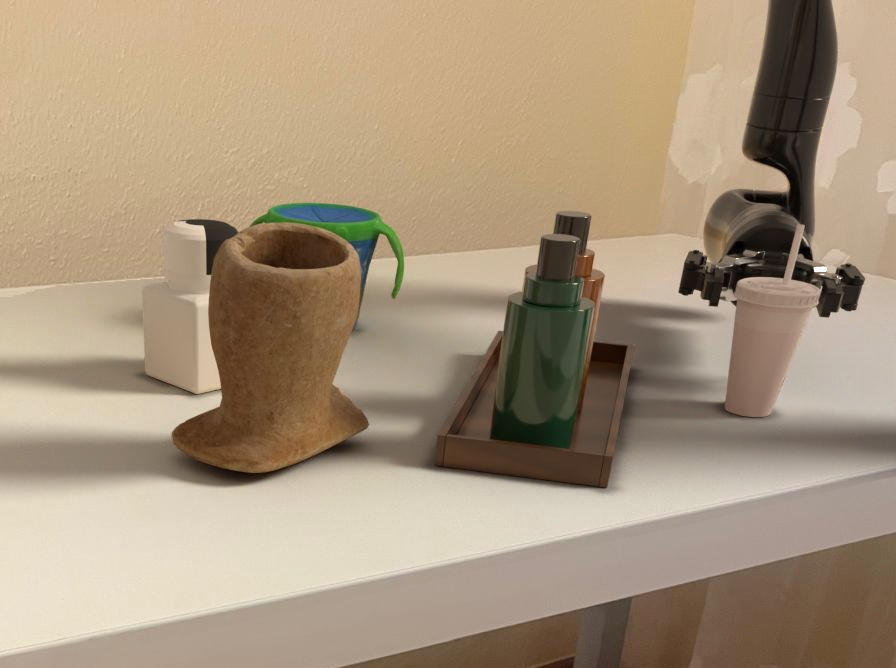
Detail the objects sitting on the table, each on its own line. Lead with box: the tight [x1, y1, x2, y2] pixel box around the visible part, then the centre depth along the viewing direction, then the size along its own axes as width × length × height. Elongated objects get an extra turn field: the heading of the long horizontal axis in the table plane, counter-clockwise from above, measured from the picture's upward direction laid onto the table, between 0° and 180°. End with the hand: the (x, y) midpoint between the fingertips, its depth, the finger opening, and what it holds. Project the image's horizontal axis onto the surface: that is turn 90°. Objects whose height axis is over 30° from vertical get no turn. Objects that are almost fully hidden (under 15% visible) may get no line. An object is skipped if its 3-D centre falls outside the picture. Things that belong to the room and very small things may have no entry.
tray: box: [434, 330, 635, 489], centre depth 96 cm, size 31×12×2 cm, turn 164°
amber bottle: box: [521, 210, 606, 413], centre depth 92 cm, size 6×6×14 cm
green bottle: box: [489, 233, 595, 449], centre depth 84 cm, size 6×6×14 cm
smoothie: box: [724, 224, 822, 418], centre depth 95 cm, size 6×6×14 cm
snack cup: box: [248, 202, 405, 329], centre depth 113 cm, size 16×10×10 cm
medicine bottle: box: [141, 218, 240, 395], centre depth 97 cm, size 7×7×12 cm
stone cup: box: [171, 222, 370, 474], centre depth 82 cm, size 15×12×15 cm
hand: (772, 298), depth 95 cm, fingers open, 8 cm apart
